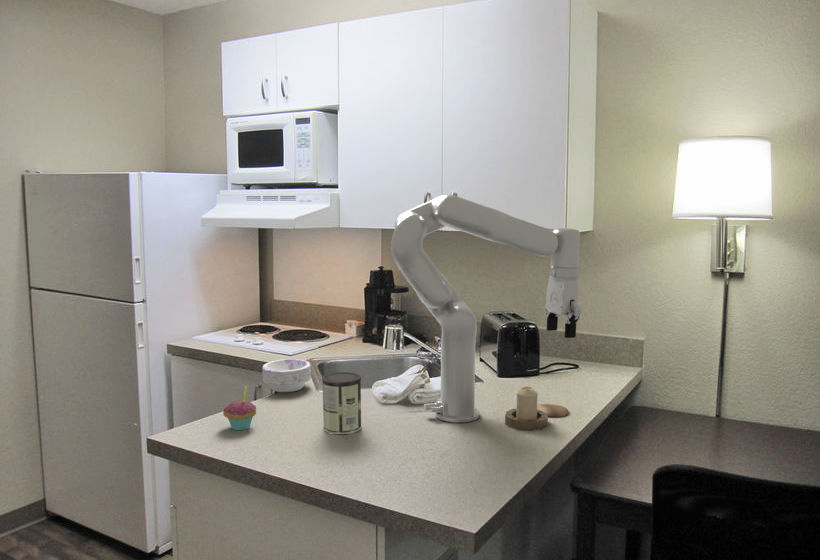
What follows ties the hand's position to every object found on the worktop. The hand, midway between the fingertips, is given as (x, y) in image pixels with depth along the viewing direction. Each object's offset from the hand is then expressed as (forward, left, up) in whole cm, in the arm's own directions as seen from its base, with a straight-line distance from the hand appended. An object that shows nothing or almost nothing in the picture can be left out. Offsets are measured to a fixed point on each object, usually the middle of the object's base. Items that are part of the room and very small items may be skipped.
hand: (560, 333), depth 189 cm
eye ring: (-12, -5, -23) cm, 27 cm away
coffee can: (-61, +5, -23) cm, 66 cm away
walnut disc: (-1, +2, -23) cm, 23 cm away
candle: (-12, -5, -23) cm, 27 cm away
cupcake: (-87, +13, -23) cm, 91 cm away
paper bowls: (-71, +46, -24) cm, 88 cm away
